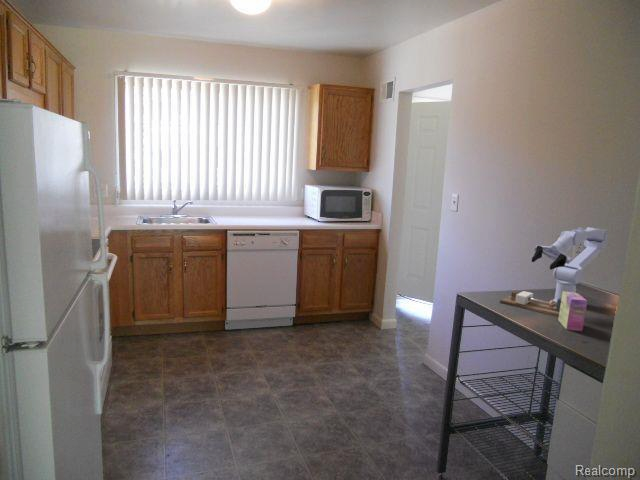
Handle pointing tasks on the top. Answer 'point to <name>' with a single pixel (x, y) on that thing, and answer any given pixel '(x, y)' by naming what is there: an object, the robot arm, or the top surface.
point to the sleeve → (523, 297)
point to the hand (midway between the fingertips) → (541, 263)
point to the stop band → (551, 303)
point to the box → (572, 311)
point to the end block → (558, 304)
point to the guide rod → (541, 301)
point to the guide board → (530, 305)
